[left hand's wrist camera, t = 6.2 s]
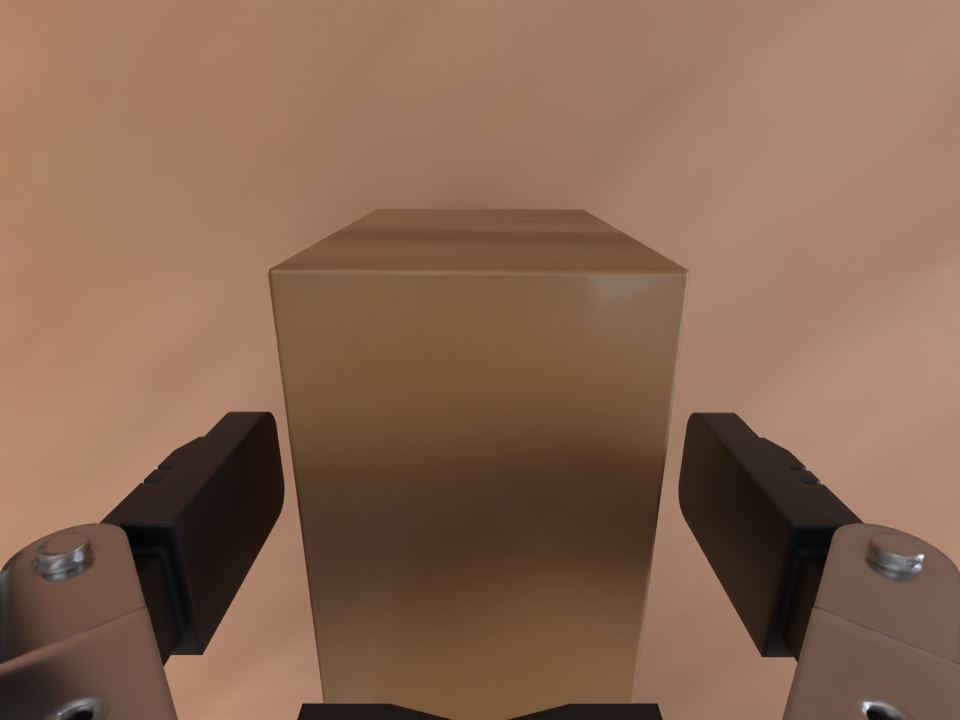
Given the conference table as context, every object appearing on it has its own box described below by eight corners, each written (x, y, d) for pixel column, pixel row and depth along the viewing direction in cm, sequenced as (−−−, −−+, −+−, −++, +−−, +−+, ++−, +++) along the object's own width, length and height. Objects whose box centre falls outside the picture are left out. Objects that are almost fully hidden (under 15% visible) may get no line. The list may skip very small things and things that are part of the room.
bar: (375, 208, 16) (264, 268, 8) (585, 209, 16) (693, 269, 8) (409, 778, 24) (373, 1094, 16) (548, 778, 24) (583, 1096, 16)
